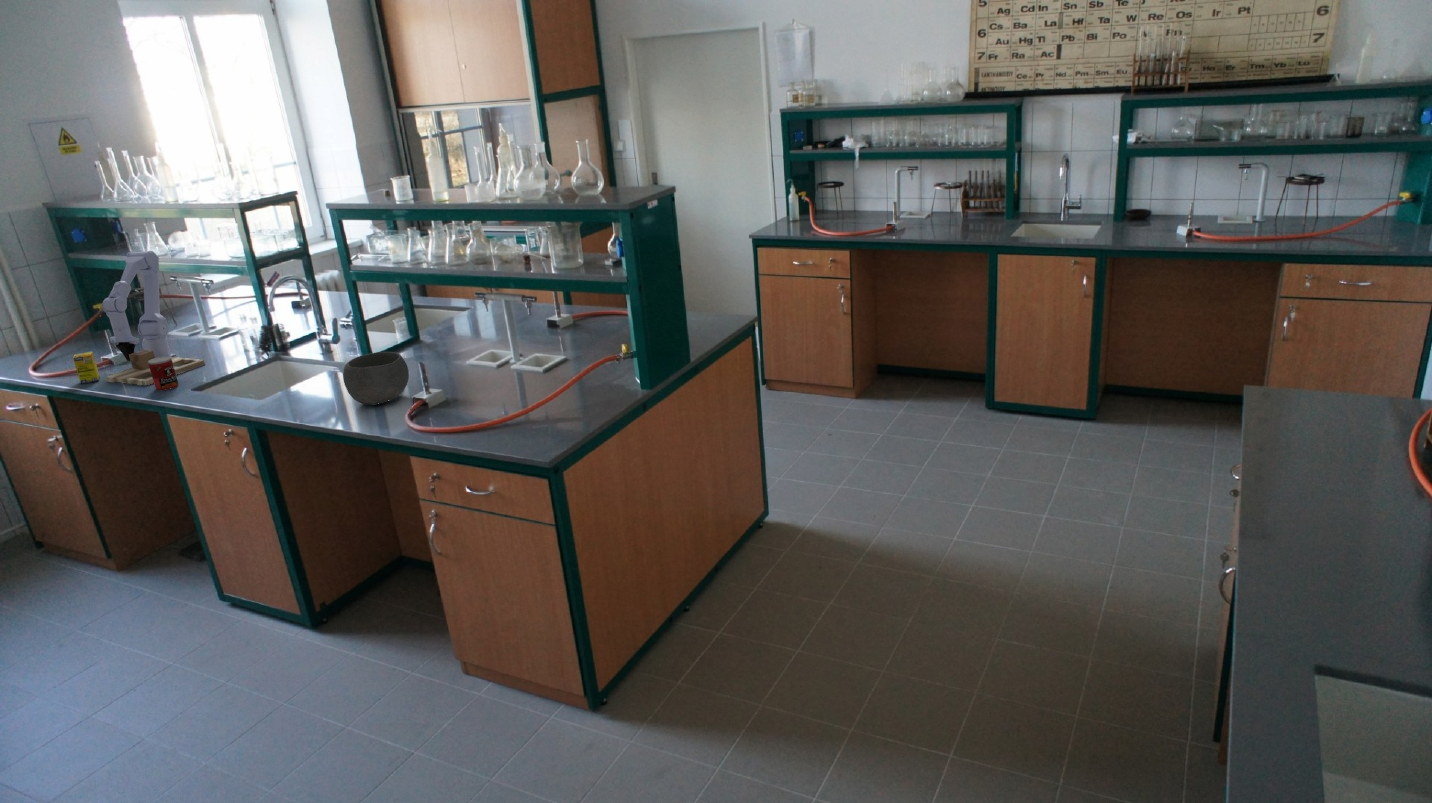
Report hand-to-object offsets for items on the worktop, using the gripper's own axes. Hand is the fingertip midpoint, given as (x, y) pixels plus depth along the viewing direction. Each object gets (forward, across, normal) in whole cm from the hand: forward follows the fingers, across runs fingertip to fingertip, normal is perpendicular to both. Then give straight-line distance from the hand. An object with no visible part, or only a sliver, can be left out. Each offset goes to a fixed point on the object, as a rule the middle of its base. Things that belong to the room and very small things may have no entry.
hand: (130, 360), depth 369 cm
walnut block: (+2, +7, 0) cm, 8 cm away
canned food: (+5, +34, -12) cm, 37 cm away
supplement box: (+5, -6, -14) cm, 16 cm away
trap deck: (+4, +13, 0) cm, 14 cm away
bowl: (+5, +129, -4) cm, 130 cm away
